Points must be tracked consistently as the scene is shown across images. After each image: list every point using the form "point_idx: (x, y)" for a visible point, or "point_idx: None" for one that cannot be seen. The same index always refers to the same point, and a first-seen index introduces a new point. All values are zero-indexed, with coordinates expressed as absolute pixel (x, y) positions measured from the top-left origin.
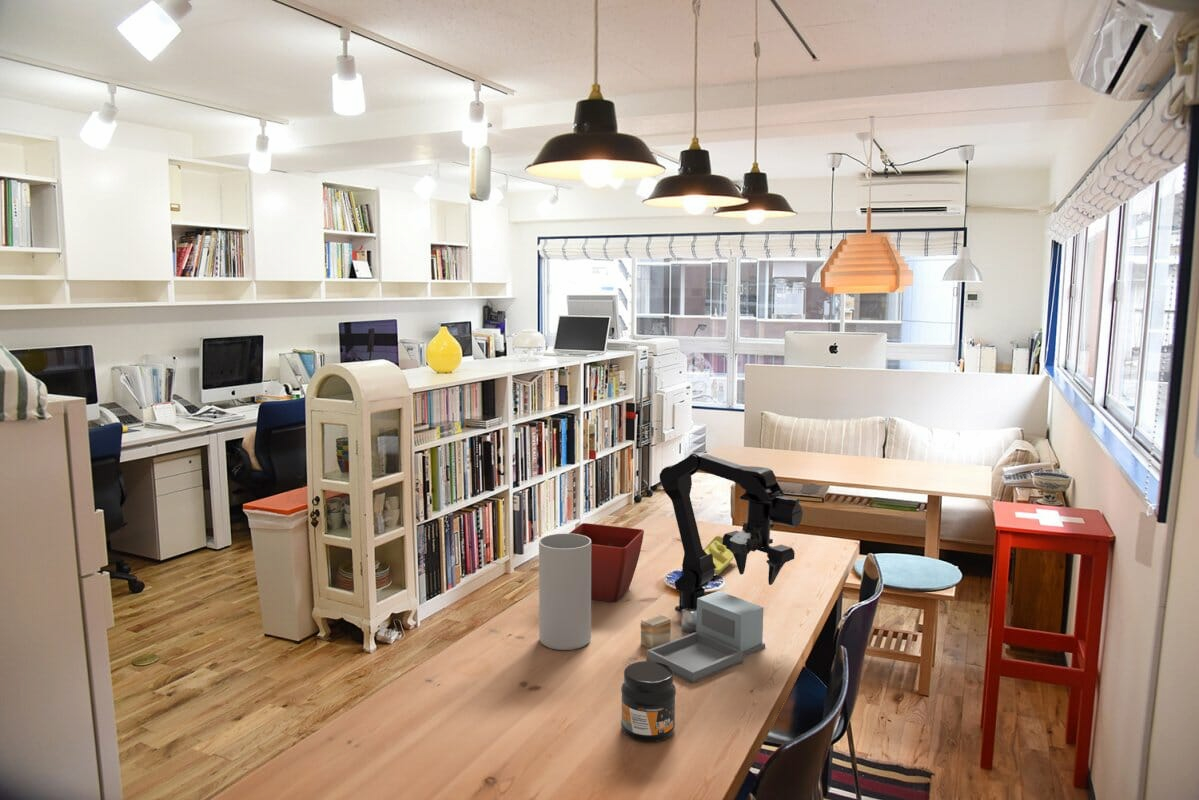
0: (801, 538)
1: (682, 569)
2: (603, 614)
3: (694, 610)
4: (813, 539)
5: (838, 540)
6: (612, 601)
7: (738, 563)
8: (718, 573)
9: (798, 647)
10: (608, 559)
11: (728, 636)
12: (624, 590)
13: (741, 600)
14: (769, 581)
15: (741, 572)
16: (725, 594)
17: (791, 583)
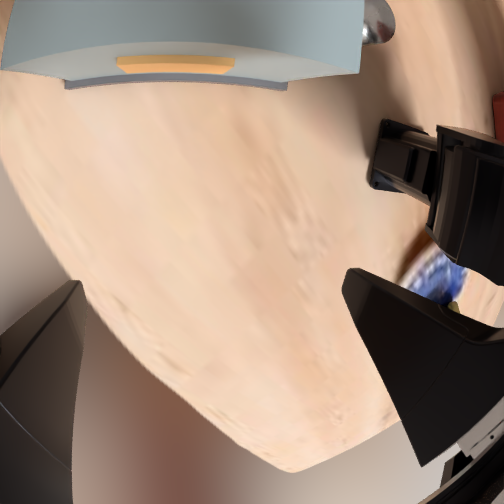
0: (341, 450)
1: (454, 301)
2: (478, 34)
3: (366, 26)
4: (328, 456)
5: (305, 468)
6: (495, 94)
7: (414, 302)
8: None
9: (16, 181)
10: None
11: None
12: (501, 141)
13: (154, 24)
14: (60, 292)
15: (354, 280)
16: (300, 40)
17: (288, 408)
